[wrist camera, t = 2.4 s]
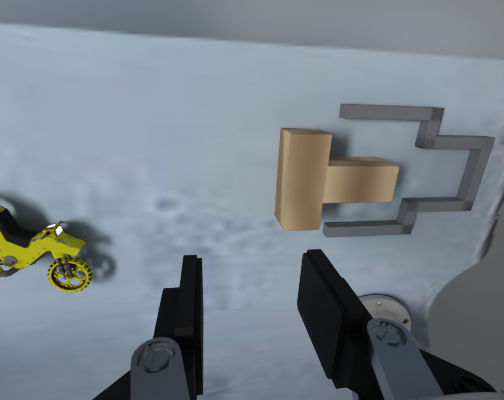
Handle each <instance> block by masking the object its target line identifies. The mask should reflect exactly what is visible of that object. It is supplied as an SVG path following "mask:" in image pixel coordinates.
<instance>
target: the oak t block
mask: <svg viewBox="0 0 504 400" xmlns="http://www.w3.org/2000/svg"><path fill="white" fill-rule="evenodd" d="M331 140H332V135H331V134H328V133H326V132H323V131H320V130H317V129H301V128H281V131H280V145H279V158H278V171H277V185H276V198H275V212H274V214H275V216H276V218H277V220H278V221H279V223H280V225H281V227H282V229H283V230H284V231H297V230H319V227H320V219H321V212H322V205H323V203H358V202H392V197H393V193H394V189H395V184H396V180H397V175H398V171H399V166H397V165H394V164H392V163H389V162H387V161H384V160H382V159H379V158H377V157H329V154H330V147H331Z"/></svg>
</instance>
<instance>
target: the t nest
mask: <svg viewBox="0 0 504 400" xmlns="http://www.w3.org/2000/svg"><path fill="white" fill-rule="evenodd" d="M443 110H444V108H436V107H411V106H384V105H358V104H341V107H340V114H339V117H343V118H363V119H397V120H421V123H420V127H419V131H418V135H417V139H416V143H415V146H416V147H420V148H433V149H471V152H470V156H469V159H468V162H467V165H466V168H465V172H464V175H463V178H462V181H461V184H460V188H459V191H458V194H457V197H455V198H402V201H401V205H400V210H399V214H398V218H397V221H365V222H332V223H324V226H323V233H324V235H325V236H326V237H351V236H376V235H402V234H411V230H412V227H413V223H414V219H415V215H416V212H441V211H471V209H472V206H473V203H474V200H475V197H476V194H477V191H478V188H479V185H480V182H481V179H482V176H483V173H484V170H485V167H486V165H487V162H488V159H489V156H490V153H491V150H492V147H493V144H494V141H495V138H493V137H487V136H456V135H437V132H438V129H439V125H440V121H441V117H442V113H443Z"/></svg>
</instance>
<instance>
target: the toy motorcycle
mask: <svg viewBox="0 0 504 400" xmlns="http://www.w3.org/2000/svg"><path fill="white" fill-rule="evenodd" d="M61 222H62V221H60V222H59V223H57V224H52V225H49V226H47V227H46V228H45V229H44V230H43V232H41V233H38V232H34V231H31V230H27V229H23V228H20V227H19V226H18V224H17V223H16V221H15V220H14V218H13V217H12V215H11V214H10V212H9V211H8V209H7V208H6V209H5V208H4V207H2V206H0V262H1V261H2V263H1V264H0V265H5V266H8V267H13V268H11V269H9V270H8V271H4V270H3V269H2V268H1V267H0V277H8V276H11V275H12V274H14V273H16V272H17V271H19V270H20V269H24V268H26V267H27V266H28V265H33V264H34V263H36V262H37V261H38V260H39V259H40V258H42V257H43V256H44V255H46V254H47V253H48V252H49V251H51V252H52V255H53V257H54V259H55V261H54V262H53V263H52V265H51V266H50V267H49V268H50V269H49V270H48V271H47V272H49V273H48V275H47V277H49V279H48V281H51V285H52V284H53V285H54V286H55V287H54V288H58V289H59V291H60V290H62V291H64V292H66V291H67V292H70V293H71V292H73V291H75V293H76V292H77V291H78V290H79V291H82V289H83V288H84V289H85V288H86V287H87V286H88V285H89V283H90V282H91V279H92V277H91V276H92V275H93V273H91V271H92V269H90V268H89V267H90V265H87V264H86V261H85V262H84V261H82V258H81V259H77V257H75V258H72V257H71V256H70V255H74V256H76V255H77V253H78V252H79V251H80V250H81V248H82V247H83V246H84V244H85V243H86V241H83V240H81V239H78V238H76V237H74V236H71V235H69V234H67V233H64V232H62V231H63V229H62V228H61V226H60V223H61ZM66 254H67V255H68V258H66ZM61 257H62V259H61ZM76 265H77V268H78V269H77V270H76V269H75V267H76ZM57 267H58V270H59V272H60V273H58V272H57V270H56V269H57ZM64 268H65V269H64ZM71 268H73V269H74V270H72V269H71ZM65 270H66V271H65ZM77 271H83V272H84V273H85V274H86V276H85V277H84V278H79V277H77V276H76V272H77ZM59 276H63V277H64V278H63V279H67V280H68V281H67V282H66V283H61V282H60V281H59V280H58V277H59ZM71 279H77V280H78V281H79V285H77V286H74V285H72V284H71V283H70V280H71Z"/></svg>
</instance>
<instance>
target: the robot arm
mask: <svg viewBox="0 0 504 400" xmlns="http://www.w3.org/2000/svg"><path fill="white" fill-rule="evenodd" d="M297 306H298V310H299V313H300V315H301V318H302V320H303V322H304V325H305V327H306V329H307V332H308V334H309V337H310V339H311V341H312V344H313V346H314V348H315V351H316V353H317V355H318V358H319V360H320V362H321V365H322V367H323V370H324V372H325V374H326V376H327V378H328V379H332V381H333V383H334V386H335V388H336V389H338V388H346V387H347V388H348V389H350V390H352V397H353V400H504V391H502V390H500V392H499V393H498V392H497V391H495V389H494V388H493V387H492V386H491V385H490V384H488V383H487V382H486V381H484V380H483V379H482V378H480V377H478V376H476V375H475V374H473V373H471V372H469V371H466V370H464V369H462V368H460V367H458V366H455V365H453V364H451V363H449V362H447V361H445V360H443V359H440V358H438V357H436V356H434V355H432V354H430V353H428V352H426V351H425V350H424V349H423V347H422V346H421V345H420V344H419V343H418V341H417V340H416V339H415V338H414V337H413V336H412V334H411V333H410V330H411V319H410V315H409V313H408V312H407V310H406V309H405V308H404V307H403V305H402V304H401V303H400V302H398V301H397V300H395V299H394V298H391V297H388V296H384V295H369V296H364V297H360V298H358V297H357V295H356V294H355V293H354V291H353V290H352V288H351V287H350V286H349V284H348V283H347V282H346V280H345V279H344V278H342V277H341V276H340V275H339V273H338V272H337V271H336V269H335V268H334V267H333V265H332V264H331V262H330V261H329V260H328V258H327V257H326V255H325V254H324V253H323V251H322V250H321V249H312V250H307V253H304V254H303V258H302V266H301V274H300V283H299V291H298V299H297ZM197 395H203V278H202V258H197V255H184V256H183V264H182V272H181V280H180V287H178V288H164V289H163V292H162V297H161V302H160V307H159V312H158V317H157V321H156V326H155V331H154V336H153V339H150V340H148V341H146V342H144V343H143V344H141V345H140V346H139V347H138V348H137V349H136V350H135V352H134V354H133V355H132V358H131V370H130V371H128V372H127V373H126V374H124V375H123V376H122V377H121V378H119V379H118V380H117V381H116V382H114V383H113V384H112V385H110V386H109V387H108V388H107V389H105V390H104V391H103V392H102V393H100V394H99V395H98V396H96V397H95V398H94V399H93V400H197Z"/></svg>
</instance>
